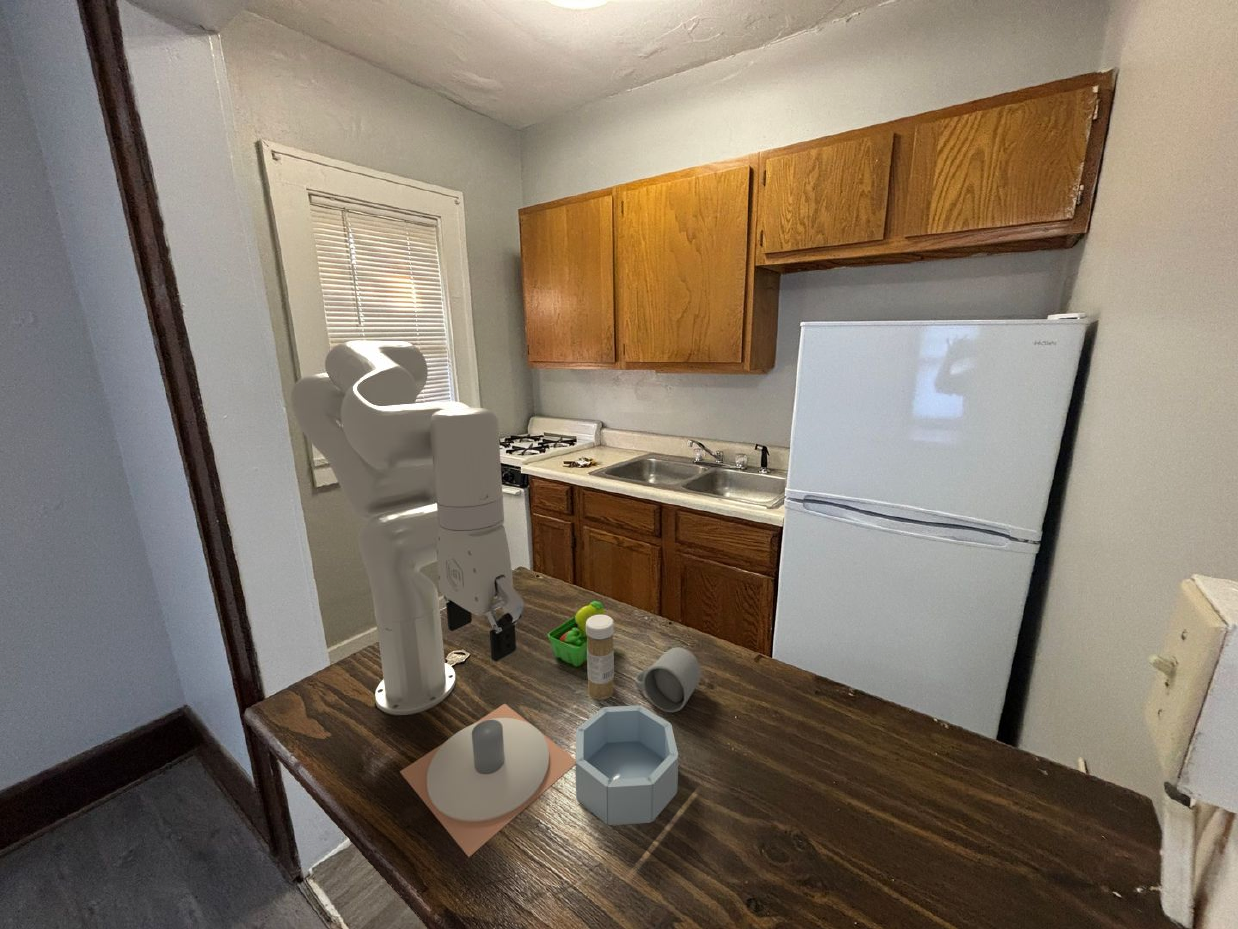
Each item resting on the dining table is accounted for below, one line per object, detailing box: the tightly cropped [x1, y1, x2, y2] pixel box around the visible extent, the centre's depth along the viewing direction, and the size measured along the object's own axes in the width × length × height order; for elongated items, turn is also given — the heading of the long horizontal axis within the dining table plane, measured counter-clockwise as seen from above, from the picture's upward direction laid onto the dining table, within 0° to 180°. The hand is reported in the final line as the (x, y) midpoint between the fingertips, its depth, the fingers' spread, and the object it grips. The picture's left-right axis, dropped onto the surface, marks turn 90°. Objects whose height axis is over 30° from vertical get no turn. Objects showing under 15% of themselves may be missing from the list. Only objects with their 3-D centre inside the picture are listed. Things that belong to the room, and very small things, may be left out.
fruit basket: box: [547, 600, 605, 667], centre depth 89 cm, size 11×9×11 cm
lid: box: [427, 718, 549, 823], centre depth 64 cm, size 16×16×6 cm
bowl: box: [574, 704, 679, 826], centre depth 63 cm, size 13×13×6 cm
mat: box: [399, 703, 575, 858], centre depth 65 cm, size 17×17×1 cm
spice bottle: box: [586, 614, 615, 701], centre depth 78 cm, size 5×5×14 cm
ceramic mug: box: [634, 646, 702, 713], centre depth 79 cm, size 11×8×8 cm
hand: (481, 640), depth 61 cm, fingers open, 9 cm apart
